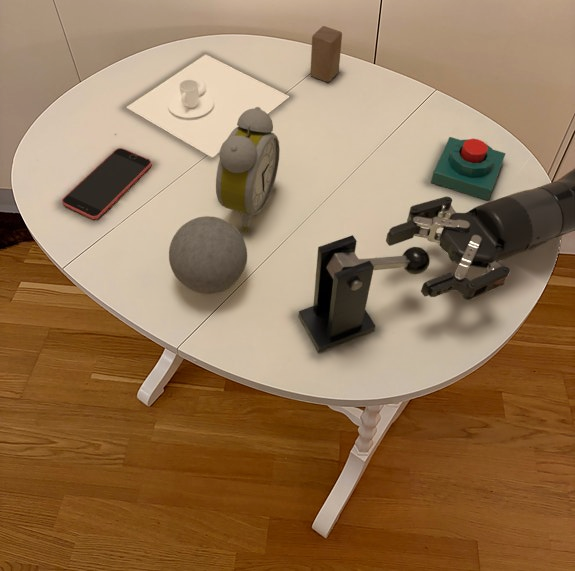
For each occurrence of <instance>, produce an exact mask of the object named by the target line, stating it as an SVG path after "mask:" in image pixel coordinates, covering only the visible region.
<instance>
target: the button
mask: <svg viewBox="0 0 575 571" xmlns="http://www.w3.org/2000/svg"><path fill="white" fill-rule="evenodd" d="M465 140H466V141H465V142H464V144H463V147H462V150H461V157H462V158H463V159H464V160H465V161H468V162H471V163H480V162H482V161H483V160H484V158H485V155H486V153H487V150H488V147H487V145H488V144H487V143H486V142H484V141H483V140H481V139H478V138H469V140H467V139H465ZM485 143H486V144H487V145H486V144H485Z"/></svg>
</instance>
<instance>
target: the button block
mask: <svg viewBox="0 0 575 571" xmlns="http://www.w3.org/2000/svg"><path fill="white" fill-rule="evenodd" d="M469 139H470V138H469ZM469 139H468V138H467V139H459V138H455V137H452V136H449V137H448V139H447V142H446V143H445V146H444V148H443V150H442V152H441V154H440V156H439V159H438V160H437V164H436V165H435V167H434V170H433V173H432V176H431V179H430V183H431V184H434V185H437V186H440V187H444V188H447V189H449V190H453V191H456V192H459V193H462V194H466V195H469V196H472V197H475V198H478V199H481V200H485V201H489V199H490V197H491V195H492V192H493V189H494V187H495V184H496V181H497V178H498V175H499V173H500V169H501V168H502V165H503V162H504V159H505V156H506V152H503V151H499V150H496V149H493V148H492V147H491V146H490V145H489V144H487V143H486V142H484V143H485V144H486V145H487V147H488V150H487V153H486V155H485V158H484V160H483V161H482V162H480V163H471V162H468V161H465V160H464V159H463V158H462V157H461V150H462V147H463V144H464V142H465V141H466V140H469Z"/></svg>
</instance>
